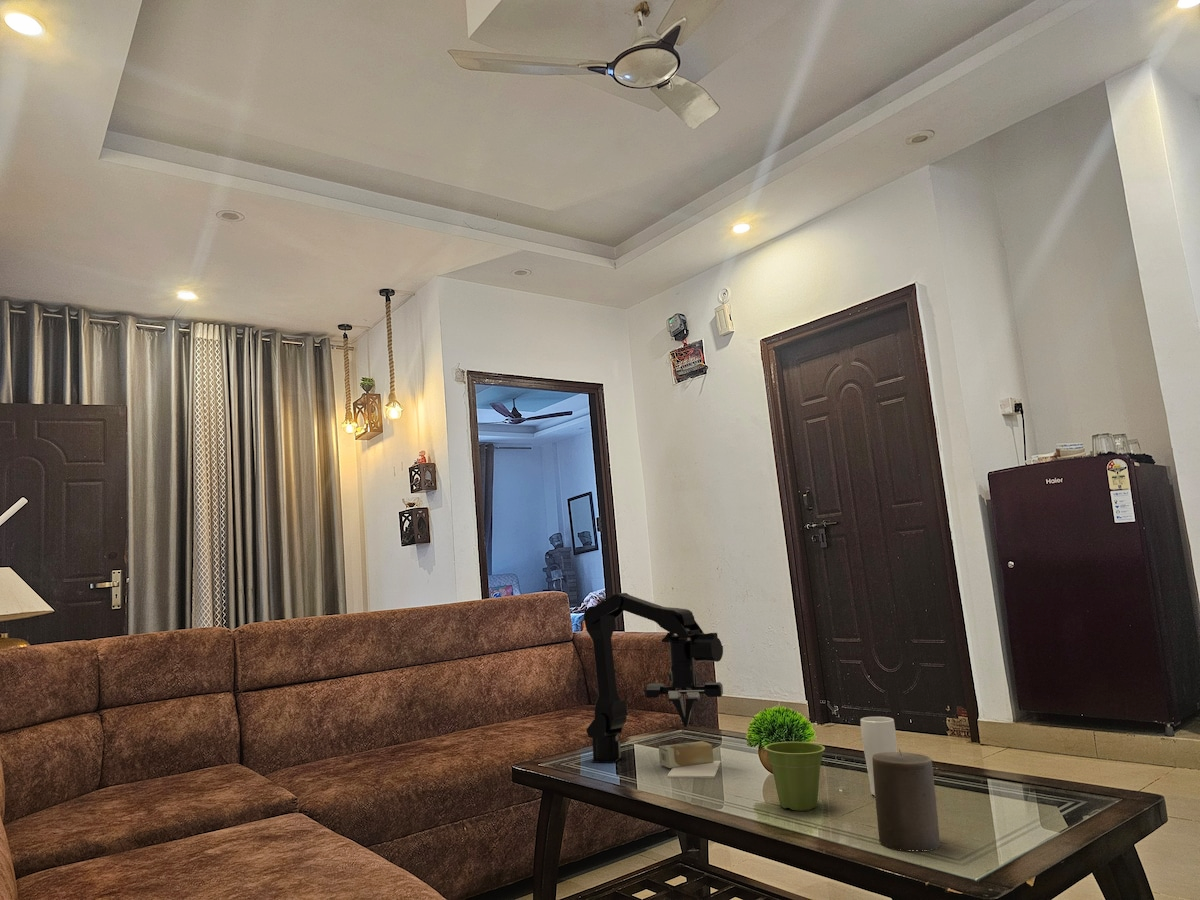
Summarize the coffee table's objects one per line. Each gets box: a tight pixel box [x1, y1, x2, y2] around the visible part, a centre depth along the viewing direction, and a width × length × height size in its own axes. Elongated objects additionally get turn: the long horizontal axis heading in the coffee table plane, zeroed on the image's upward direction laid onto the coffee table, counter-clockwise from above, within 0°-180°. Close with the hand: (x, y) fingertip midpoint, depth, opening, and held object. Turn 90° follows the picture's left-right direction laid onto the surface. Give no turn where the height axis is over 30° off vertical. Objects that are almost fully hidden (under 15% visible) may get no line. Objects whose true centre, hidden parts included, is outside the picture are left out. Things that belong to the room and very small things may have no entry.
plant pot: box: [764, 741, 826, 812], centre depth 158 cm, size 12×12×11 cm
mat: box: [666, 760, 722, 779], centre depth 192 cm, size 11×16×1 cm
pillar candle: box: [872, 748, 941, 851], centre depth 134 cm, size 10×10×15 cm
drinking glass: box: [859, 716, 898, 796], centre depth 163 cm, size 7×7×15 cm
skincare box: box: [658, 740, 715, 769], centre depth 198 cm, size 6×4×12 cm
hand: (686, 726), depth 194 cm, fingers closed
